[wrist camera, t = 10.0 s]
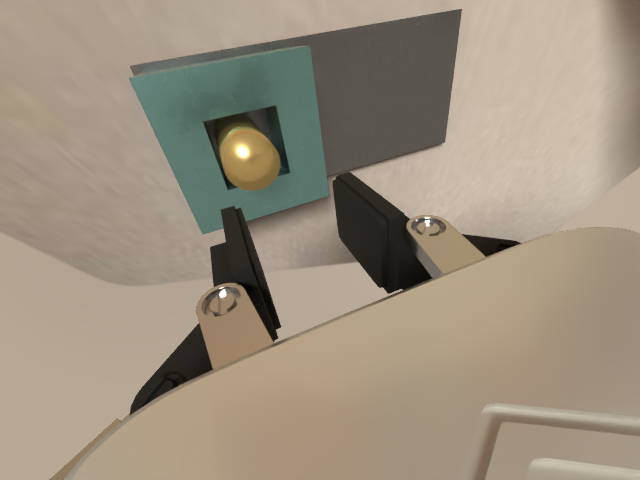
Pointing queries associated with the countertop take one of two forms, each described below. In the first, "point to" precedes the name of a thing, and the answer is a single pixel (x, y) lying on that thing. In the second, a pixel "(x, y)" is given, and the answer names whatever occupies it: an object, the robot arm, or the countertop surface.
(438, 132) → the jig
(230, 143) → the gold rounded cylinder
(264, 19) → the countertop surface
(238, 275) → the robot arm
